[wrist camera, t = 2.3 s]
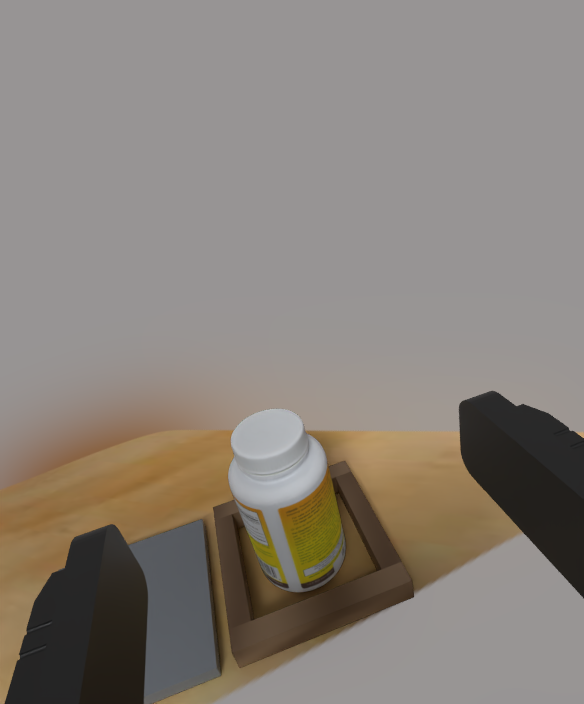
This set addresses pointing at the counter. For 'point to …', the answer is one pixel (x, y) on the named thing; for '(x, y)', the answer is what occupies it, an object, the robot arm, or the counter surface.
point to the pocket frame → (320, 610)
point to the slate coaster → (178, 611)
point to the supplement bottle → (286, 500)
